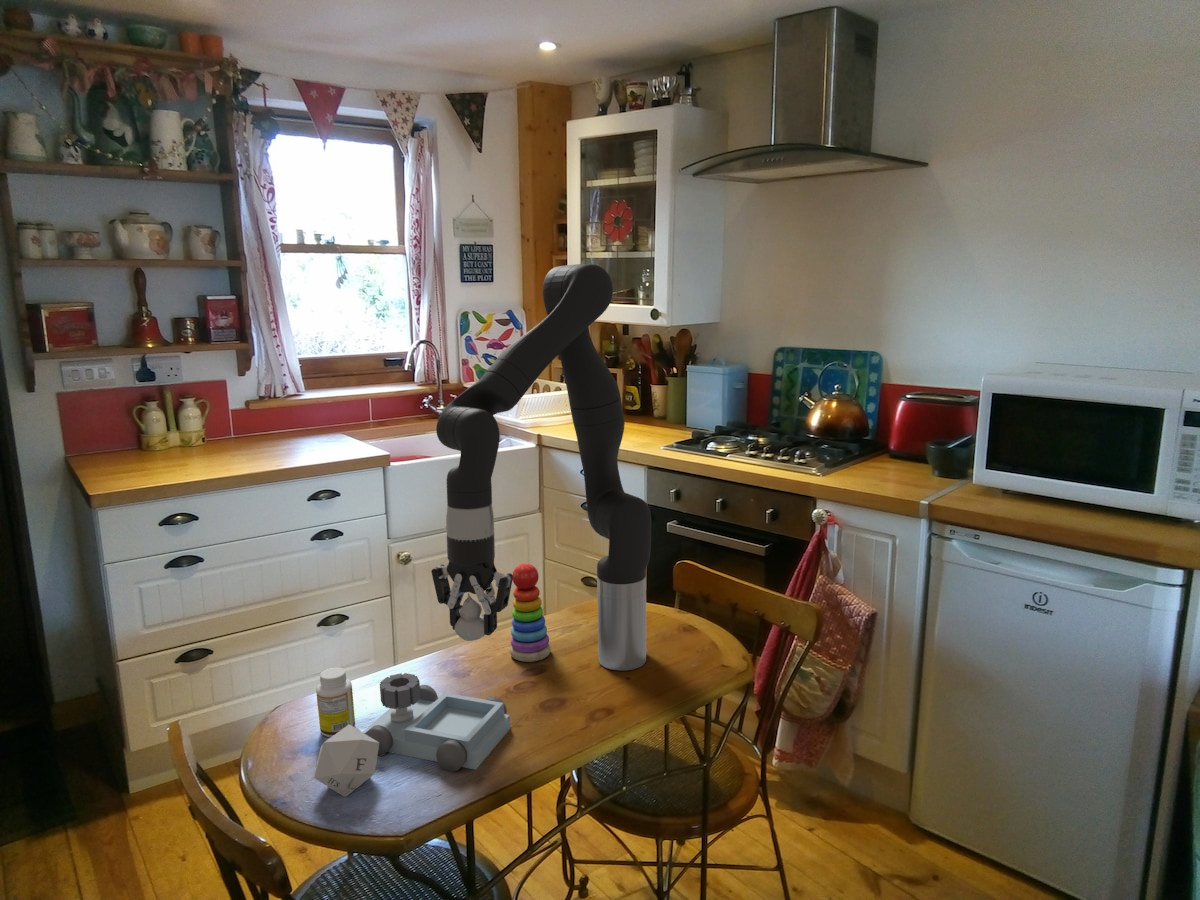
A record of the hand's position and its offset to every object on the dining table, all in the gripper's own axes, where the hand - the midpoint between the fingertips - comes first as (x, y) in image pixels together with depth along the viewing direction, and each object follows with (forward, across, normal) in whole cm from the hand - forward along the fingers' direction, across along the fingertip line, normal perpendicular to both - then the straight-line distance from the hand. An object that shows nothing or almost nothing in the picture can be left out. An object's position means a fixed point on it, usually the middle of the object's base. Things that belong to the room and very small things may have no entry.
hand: (473, 630), depth 134 cm
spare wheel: (+11, +10, +7) cm, 16 cm away
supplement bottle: (+17, +20, +10) cm, 28 cm away
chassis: (+16, +3, +6) cm, 18 cm away
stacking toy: (+16, +2, -26) cm, 30 cm away
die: (+17, +9, +22) cm, 29 cm away
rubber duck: (+2, 0, 0) cm, 2 cm away
